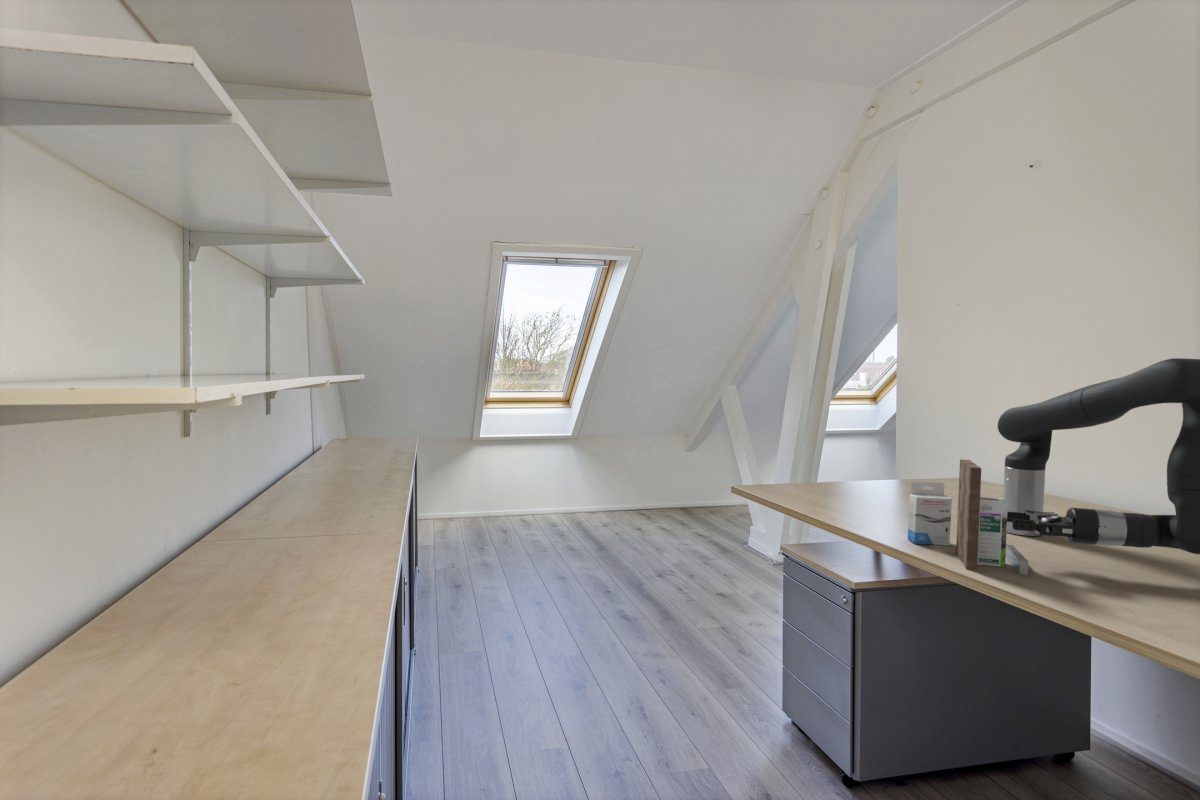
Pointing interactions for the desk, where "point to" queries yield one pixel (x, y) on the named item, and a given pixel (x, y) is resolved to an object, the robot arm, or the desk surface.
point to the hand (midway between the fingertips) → (1008, 520)
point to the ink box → (929, 514)
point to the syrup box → (992, 532)
